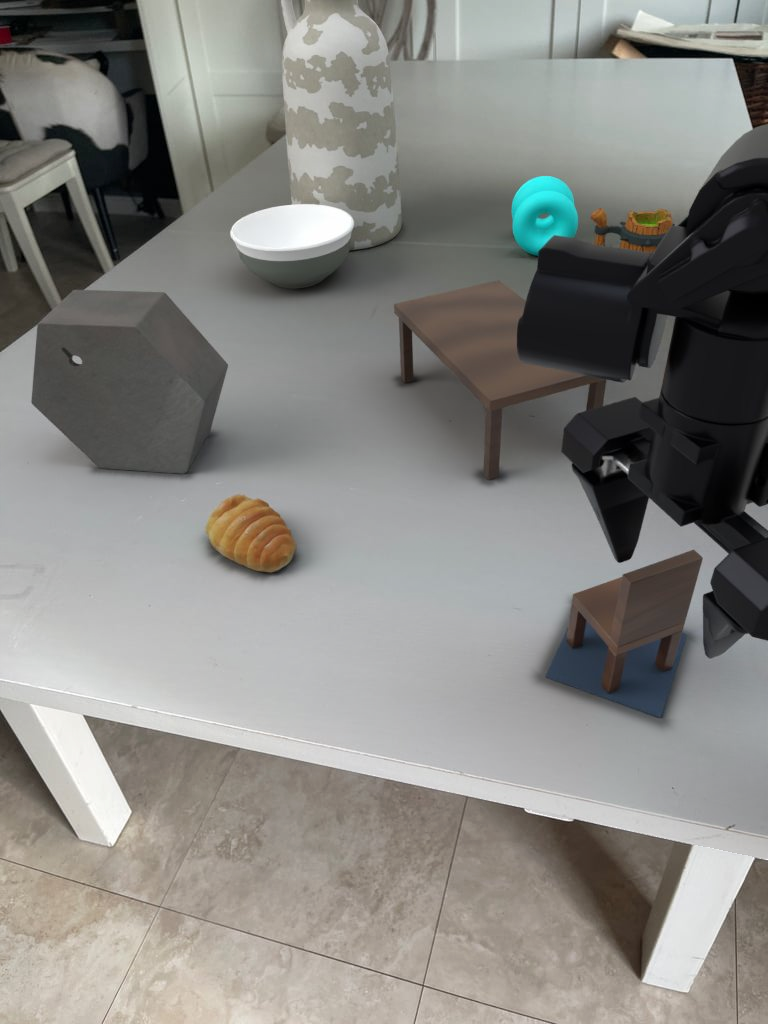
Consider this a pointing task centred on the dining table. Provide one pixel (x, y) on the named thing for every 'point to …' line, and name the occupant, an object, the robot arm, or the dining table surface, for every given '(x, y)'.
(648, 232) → the mug
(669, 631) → the chair
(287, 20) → the vase
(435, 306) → the side table
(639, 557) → the dining table surface
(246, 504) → the pastry
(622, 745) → the dining table surface
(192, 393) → the grey hexagonal prism
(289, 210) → the bowl
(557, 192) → the donuts
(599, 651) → the mat
